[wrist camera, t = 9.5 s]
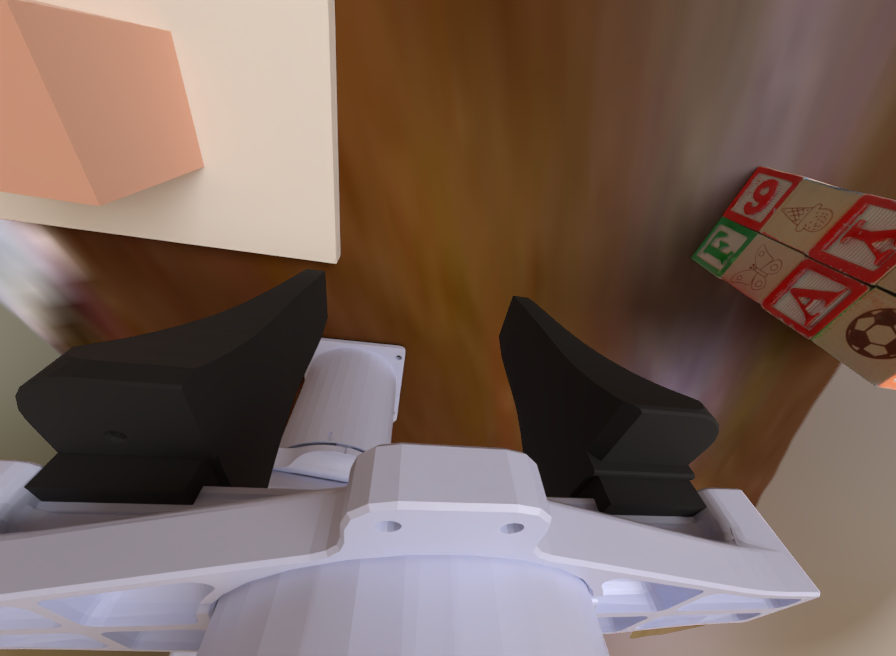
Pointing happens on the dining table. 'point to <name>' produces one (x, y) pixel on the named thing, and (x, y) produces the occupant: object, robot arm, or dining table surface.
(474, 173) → the dining table surface
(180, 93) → the salmon orange block
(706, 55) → the dining table surface
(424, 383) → the dining table surface
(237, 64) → the post board
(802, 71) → the dining table surface
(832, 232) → the stack of blocks
